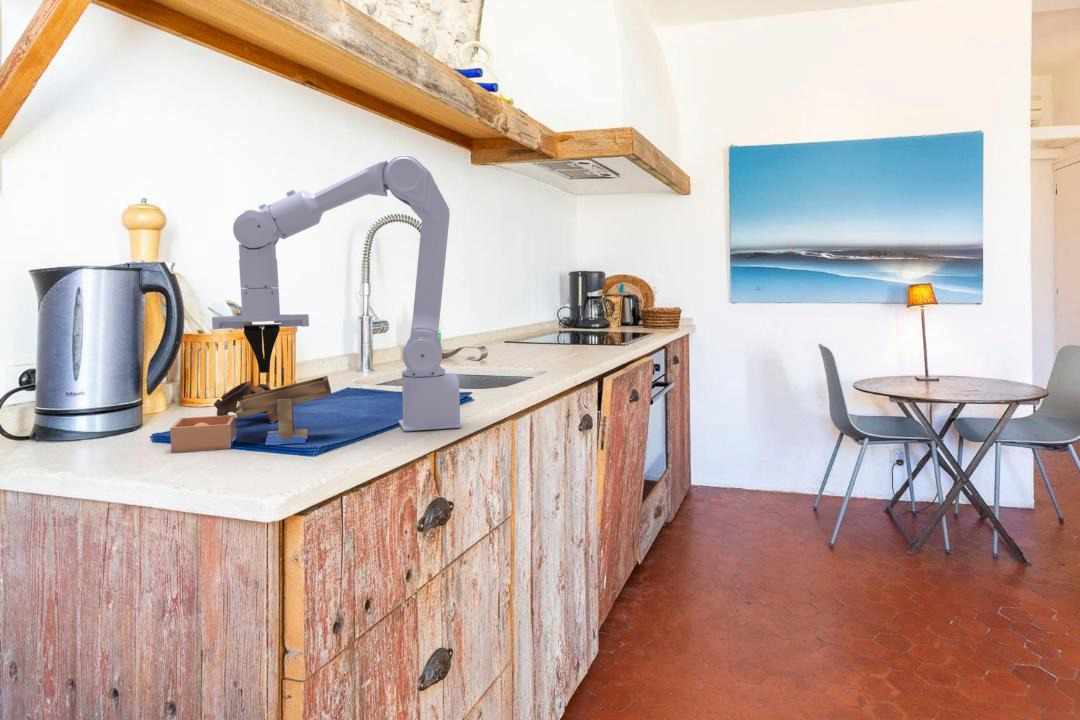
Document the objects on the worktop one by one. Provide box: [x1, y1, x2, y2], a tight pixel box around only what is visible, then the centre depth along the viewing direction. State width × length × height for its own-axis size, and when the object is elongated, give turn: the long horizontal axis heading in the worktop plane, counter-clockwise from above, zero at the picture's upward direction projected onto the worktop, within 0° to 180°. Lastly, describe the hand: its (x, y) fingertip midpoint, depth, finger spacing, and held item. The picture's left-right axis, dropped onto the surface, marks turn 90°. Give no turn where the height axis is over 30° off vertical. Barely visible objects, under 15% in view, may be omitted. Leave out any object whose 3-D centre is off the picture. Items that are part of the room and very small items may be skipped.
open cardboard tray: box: [169, 414, 237, 454], centre depth 110 cm, size 8×8×4 cm
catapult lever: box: [235, 375, 332, 419], centre depth 115 cm, size 14×11×2 cm
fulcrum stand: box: [267, 399, 308, 439], centre depth 113 cm, size 6×8×7 cm
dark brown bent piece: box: [213, 380, 278, 423], centre depth 128 cm, size 12×10×8 cm
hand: (264, 372), depth 118 cm, fingers closed
